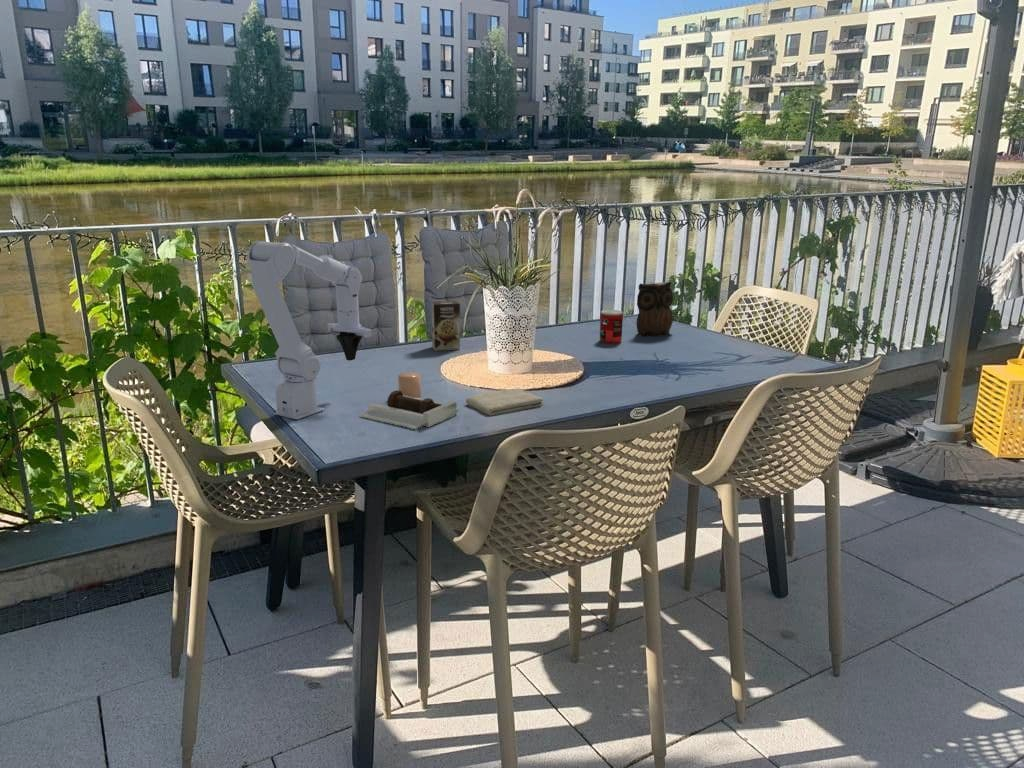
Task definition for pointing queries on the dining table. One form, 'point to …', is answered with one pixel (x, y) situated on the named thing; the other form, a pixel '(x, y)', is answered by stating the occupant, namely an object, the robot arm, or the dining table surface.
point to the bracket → (411, 414)
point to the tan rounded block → (410, 384)
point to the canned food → (611, 326)
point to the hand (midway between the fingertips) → (350, 359)
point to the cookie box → (446, 325)
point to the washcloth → (504, 401)
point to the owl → (654, 309)
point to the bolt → (410, 403)
